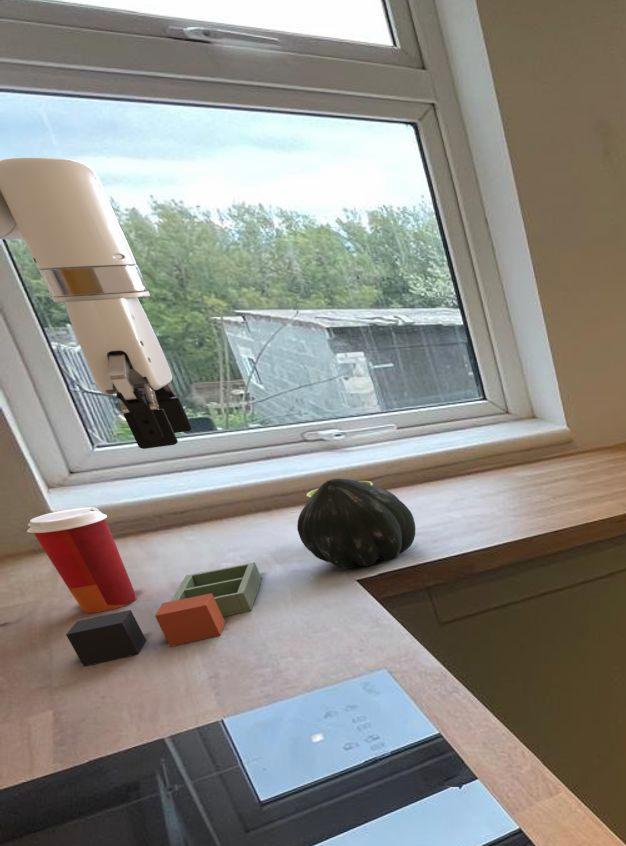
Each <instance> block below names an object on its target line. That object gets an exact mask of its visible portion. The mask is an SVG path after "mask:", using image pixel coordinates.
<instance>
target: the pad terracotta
mask: <svg viewBox="0 0 626 846" xmlns="http://www.w3.org/2000/svg"><path fill="white" fill-rule="evenodd" d="M171 601H172V600H171ZM171 601H167V602H163V603H162V604H161V605H160V607H159V608H158V610H157V612H156V613H155V615H154V617H155V619H156V622H157V624H158V626H159V627H160V630H161V631H162V633H163V635H164V637H165V639H166V641H167V643H168V645H169V647H175V646H179V645H184V644H188V643H194V642H197V641H202V640H205V639H211V638H214V637H218V636H219V637H220V636H221V634H222V632H223V630H224V627H225V624H226V620H225V618H224V617H223V616H222V614H221V612H220V610H219V608H218V605H217V603H216V601H215V599H214V597H213V595H212V593H210V594H206V595H201V596H196V597H191V598H186V599H181V600H176V601H172V602H171Z"/></svg>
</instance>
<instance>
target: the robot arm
mask: <svg viewBox="0 0 626 846" xmlns="http://www.w3.org/2000/svg"><path fill="white" fill-rule="evenodd" d="M0 240H24V242H25V243H24V244H25V245H26V247H27V249H28V251H29V253H30V255H31V257H32V259H33V261H34V263H35V266H36V268H37V269H38V271H39V274H40V276H41V277H42V279H43V281H44V284H45V286H46V288H47V290H48V292H49V294H50V296H51V299H52V301H53V302H54V303H64V304H65V308H66V311H67V316H68V318H69V320H70V323H71V326H72V329H73V332H74V334H75V337H76V340H77V342H78V345H79V347H80V349H81V352H82V354H83V356H84V358H85V362H86V363H87V365H88V368H89V370H90V373H91V375H92V378H93V380H94V382H95V385H96V387H97V390H98V391H99V392H100V393H102V394H104V395H106V396H113V395H115V396H116V398H117V399H118V403H119V407H120V409H121V411H122V413H123V414H122V415H123V417H124V419H125V421H126V423H127V425H128V428H129V430H130V432H131V434H132V436H133V438H134V440H135V443H136V444H137V446H138V448H140V449H142V450H146V449H155V448H161V447H168V446H175V445H177V444H178V442H179V440H178V438H177V435H176V434H178V433H179V434H180V433H187V432H191V430H192V429H193V427H192V424H191V422H190V419H189V418H188V417H189V416H188V414H187V413H186V410H185V408H184V406H183V404H182V402H181V400H180V397H178V396H177V393H176V390H175V388H174V387H173V385H172V384H171V381H173V374H172V371H171V368H170V366H169V364H168V363H169V362H168V360H167V358H166V356H165V353H164V351H163V349H162V345H161V344H160V342H159V340H158V339H159V338H158V337H157V335H156V332H155V331H154V329H153V327H152V324H151V322H150V320H149V318H148V314H147V313H146V312H145V310H144V307H143V305H142V303H141V302H140V300H139V298H144V297H151V294H150V291H149V289H148V287H147V285H146V282H145V280H144V277H143V276H142V273H141V271H140V268H139V266H138V265H137V262H136V259H135V256H134V255H133V253H132V250H131V247H130V246H129V243H128V241H127V239H126V236H125V234H124V231H123V230H122V227H121V225H120V223H119V220H118V217H117V216H116V214H115V211H114V209H113V206H112V204H111V202H110V200H109V197H108V195H107V193H106V191H105V189H104V186H103V184H102V181H101V180H100V178H99V175H98V174H97V173H96V171H95V170H94V169H93V168H91V167H90V166H89V165H88V164H86V163H84V162H81V161H78V160H74V159H67V158H66V159H65V158H56V157H55V158H53V157H16V158H5V159H1V160H0Z"/></svg>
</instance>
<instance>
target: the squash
mask: <svg viewBox="0 0 626 846" xmlns="http://www.w3.org/2000/svg"><path fill="white" fill-rule="evenodd" d="M359 481H360V480H354V479H346V478H331V479H327V480H326V481H325V482H323V483H322V484H321V485H320V486H319V487H318V488H319V489H318V488H317V489H318V490H317V491H316V492H315V493H314V494H313V495H312V496H311V497H310V498H308V500H307V501H306V503H305V504H304V507H302V510H301V511H300V513H299V516H298V519H297V525H296V526H297V527H296V529H297V532H298V536H299V539H300V540H301V543H302V544H303V546H304V547H305V548H306V549H307V550H308V551H309V552H310V553H312V555H313V556H314V557H316V558H317V559H318V560H321V561H323V562H326V563H330V564H332V565H333V566H335V567H337V568H340V569H352V568H356V567H357V566H363V567H370V566H372V565H374V564H376V562H377V560H378V559H379V560H383V561H389V560H393V559H395V558H397V557H398V556H399V554H402V553H404V552H405V551H407V550H408V549H409V548H410V547H411V546H412V544H413V543H414V541H415V538H416V523H415V522H416V521H415V518H414V515H413V513H412V512H411V510H410V509H409V508H408V507H407V505H406V504H405V503H404V502H403V501H401V500H400V499H399V498H398V497H397V496H396V495H395V494H393V493H392V492H390V491H389V490H387V489H385V488H382V487H379V486H376V485H374V484H373V485H370V484H367V483H363V482H359Z"/></svg>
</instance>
